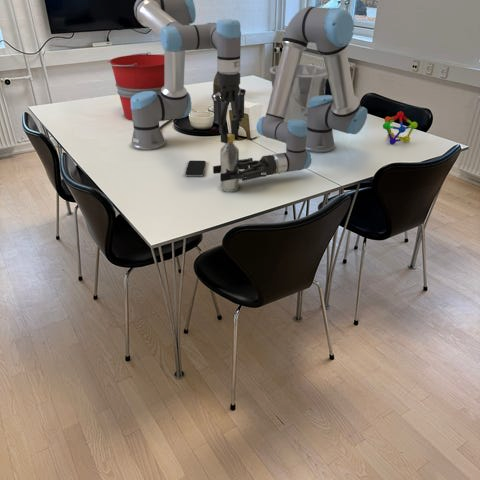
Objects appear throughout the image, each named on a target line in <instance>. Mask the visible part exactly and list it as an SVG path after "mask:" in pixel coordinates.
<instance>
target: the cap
mask: <svg viewBox="0 0 480 480" xmlns="http://www.w3.org/2000/svg"><path fill="white" fill-rule="evenodd" d="M235 141H236V140H235V135H234V134H232V133H227V142H233V143H234V142H235Z"/></svg>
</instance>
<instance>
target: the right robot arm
mask: <svg viewBox="0 0 480 480" xmlns="http://www.w3.org/2000/svg"><path fill="white" fill-rule="evenodd" d="M354 30H355V23H354V19H353V16H352V15H351V13H350V12H349V11H348V10H345V9H343V8H339V7H332V8H330V7H322V6H321V7H319V6H313V5H311V6H306V7H304V8H302V9H300V10H299V11H298V12H297V13H295V15H294V16H293V17H292V18H291V20H290V21H289V22H288V25H286V28H285V31H284V33H283V35H282V39H281V44H282V46H283V48H282V51H281V55H280V57H279V62H278V65H279V66H278V65H277V66H278V70H277V74H276V77H275V81H274V85H273V88H272V89H271V93H270V98H269V100H268V104H267V108H266V113H265V116H261V117H260V118H259V119H258V121H257V122H256V132H257V133H258V134H259V135H260V136H262V137H265V138H267V139H272V140H275V141H277V142H281V143H284V144H286V146H285V152H280V153H279V152H278V153H273V154H269V155H263V156H262V157H261V158H260V159H259V160H257V159H256V160H254V158H253V157H249V158H242V159H239V170H238V172H237V171H234V172H228V173H222V174H221V164H218V165H213V166H212V173H213V174H219V177H220V182H221V181H227V180H232V179H239V180H241V181H242V182H245V181H249V180H254V179H259V178H267V176H273V175H275V174H276V175H277V174H278V175H281V174H285V173H290V172H297V171H302V170H305V169H308V168H309V167H310V166H311V164H312V154H311V153H316V154H317V153H319V154H323V153H330V152H332V151H334V150H335V146H336V143H335V139H334V133H333V130H335V131H338V132H341V133H345V134H347V135H348V134H350V135H358V133H360V131H361V130H362V129H363V128H364V126H365V124H366V122H367V118H368V108H366V107H364V106H361V103H360V99H359V98H358V96H356V95H355V91H354V84H353V80H352V75H351V73H352V72H351V69H350V63H349V57H348V52H347V48H348V47H349V45H350V43H351V41H352V39H353V36H354V32H353V31H354ZM309 43H314V44H315V46H316V49H317V50H316V51H317V54H319V55H321V56H322V57H323V61H324V62H323V63H324V66H325V68H326V71H327V75H328V78H327V81H328V84H329V88H330V93H331V94H325V95H324V94H322V96H315V97H312V98H311V99H310V101H309V107H308V119H307V122H306V121H304V120H298V119H293V120H290V121H289V122H288V123H286V122H284V118H285V114H286V111H287V107H288V103H289V100H290V96H291V92H292V89H293V85H294V82H295V78H296V74H297V71H298V67H299V64H301V59H302V56H303V53H304V51H306V50H307V48H308V45H309Z"/></svg>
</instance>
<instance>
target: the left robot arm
mask: <svg viewBox="0 0 480 480" xmlns="http://www.w3.org/2000/svg"><path fill="white" fill-rule="evenodd" d="M133 12H134V16H135V18H136V20H137V22H138V23H139V24H140V25H141V26H143V27H145V28H149V29H151V30H152V31H153V32H154V33H155V34H156V35H157V36H159V39H160V44H161V46H162V49H163V50H164V54H163V55H164V86H163V87H162V88H161V94H156V92H154V91H144V92H140V93H137V94H135V95H133V96H132V97H131V110H132V118H133V120H132V125H133V132H132V135H131V147H132V148H134V149H135V150H141V151H151V150H153V151H154V150H157V149H161V148H163V147H164V146H165V144H166V140H165V137H164V135H163V132H162V128H163V127H165V126H167V125H168V124H169V123H170V122H172V121H173V120H176V119H177V120H180V119H183V118H186V117H188V116H189V115H190V113H191V111H192V98H191V94H190V93H189V92H188V89H186V87H185V67H186V66H185V61H186V52H189V51H201V50H202V51H203V50H216V52H217V53H216V55H217V57H216V59H217V60H216V62H217V66H216V67H217V69H216V70H217V71H218V72H219V73H218V84H219V90H218V93H217V94H213V93H212V94H211V99H212V102H213V103H212V104H213V123H214V124H217V125H218V132H219V134H220V142H221V143H222V144H224V145H225V144H226V143H227V134H228V124H226V121H227V115H228V110H229V106H230V109H231V115H232V119H233V120H231V134H234V135H235V141H239V130H240V123H241V122H242V121H243V119H244V118H245V96H246V92H247V90H246V89H244V88H241V87H240V85H241V73H240V72H241V46H242V45H241V44H242V39H241V38H242V31H241V22H240V21H239V20H237V19H232V18H231V19H229V18H228V19H227V18H226V19H225V18H223V19H219V20H217V22H207V23H205V24H203V23H202V24H194V23H195V21H196V18H197V15H196V14H197V13H196V6H195V3H194V0H136V1H135V3H134V6H133ZM220 97H221V98H220ZM162 121H163V122H164V121H166V122H164V123H163V124H161V125H160V122H162Z"/></svg>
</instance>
